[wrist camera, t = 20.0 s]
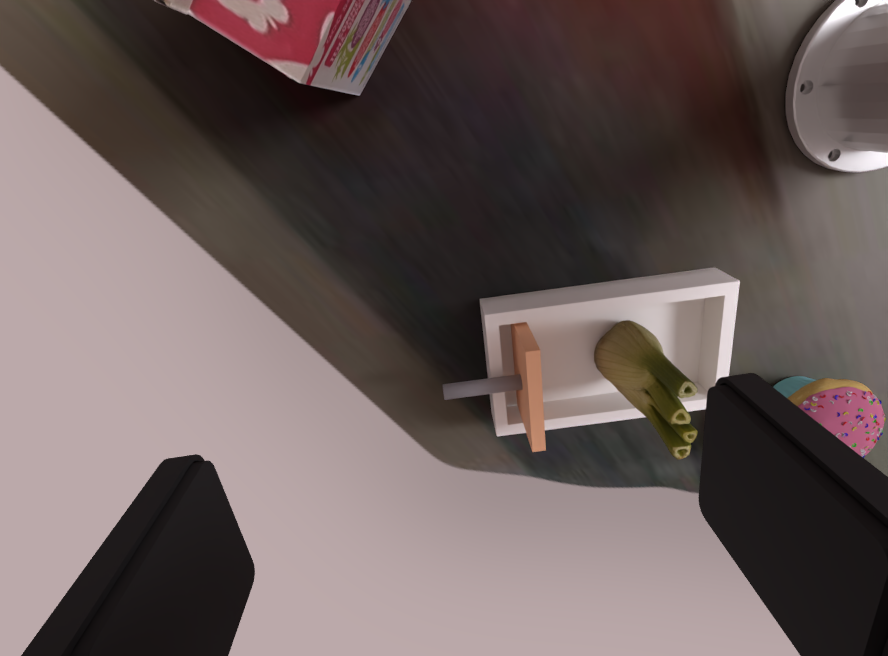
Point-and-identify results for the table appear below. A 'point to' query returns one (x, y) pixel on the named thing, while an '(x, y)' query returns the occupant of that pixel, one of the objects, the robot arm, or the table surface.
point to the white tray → (588, 319)
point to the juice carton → (306, 35)
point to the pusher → (515, 385)
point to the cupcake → (838, 408)
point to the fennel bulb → (648, 382)
